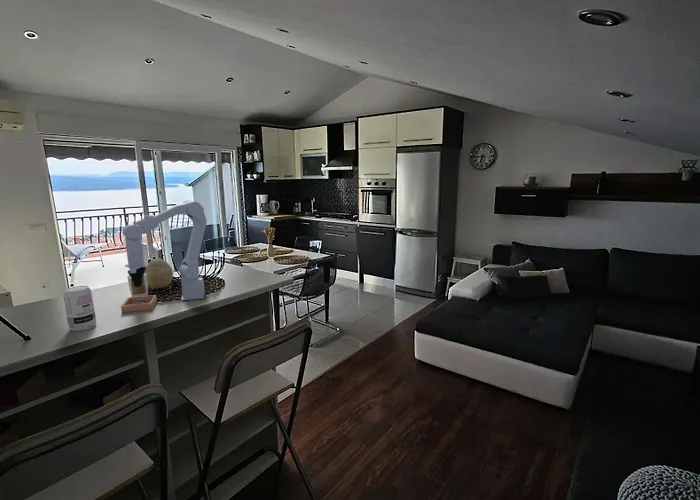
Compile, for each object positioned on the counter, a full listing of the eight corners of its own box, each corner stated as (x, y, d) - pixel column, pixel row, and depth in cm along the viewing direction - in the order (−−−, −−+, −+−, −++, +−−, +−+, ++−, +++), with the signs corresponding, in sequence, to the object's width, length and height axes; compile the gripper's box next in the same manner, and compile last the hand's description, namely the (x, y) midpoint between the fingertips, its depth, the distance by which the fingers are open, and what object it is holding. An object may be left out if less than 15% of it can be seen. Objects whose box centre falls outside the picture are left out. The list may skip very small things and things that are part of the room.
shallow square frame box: (156, 301, 159) (156, 294, 158) (152, 310, 148) (151, 303, 148) (128, 304, 155) (127, 297, 154) (121, 313, 145) (120, 306, 144)
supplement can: (78, 323, 136) (72, 285, 133) (101, 322, 136) (95, 285, 133) (63, 332, 128) (56, 292, 125) (88, 331, 128) (81, 292, 125)
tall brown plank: (146, 292, 151) (143, 276, 150) (145, 293, 150) (142, 277, 148) (134, 293, 150) (131, 277, 148) (132, 294, 148) (130, 278, 147)
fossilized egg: (155, 293, 169) (151, 263, 166) (140, 289, 176) (136, 259, 172) (179, 286, 180) (176, 257, 177) (164, 282, 186) (161, 254, 183)
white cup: (140, 299, 162) (138, 278, 160) (125, 298, 163) (122, 277, 161) (153, 293, 169) (150, 273, 167) (139, 292, 171) (136, 272, 169)
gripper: (128, 251, 152) (132, 281, 155) (119, 258, 138) (123, 291, 141) (146, 249, 154) (150, 280, 157) (139, 257, 141) (143, 289, 143)
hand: (139, 285), depth 149 cm, fingers closed on tall brown plank, 2 cm apart
